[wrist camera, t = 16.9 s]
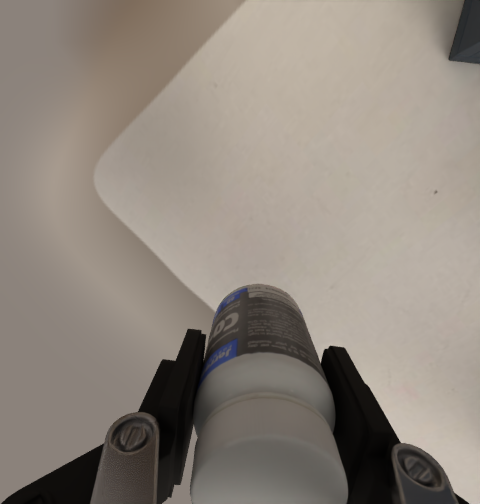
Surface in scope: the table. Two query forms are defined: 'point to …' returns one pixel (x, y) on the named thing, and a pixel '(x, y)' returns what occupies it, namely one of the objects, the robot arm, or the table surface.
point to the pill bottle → (264, 408)
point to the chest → (468, 34)
